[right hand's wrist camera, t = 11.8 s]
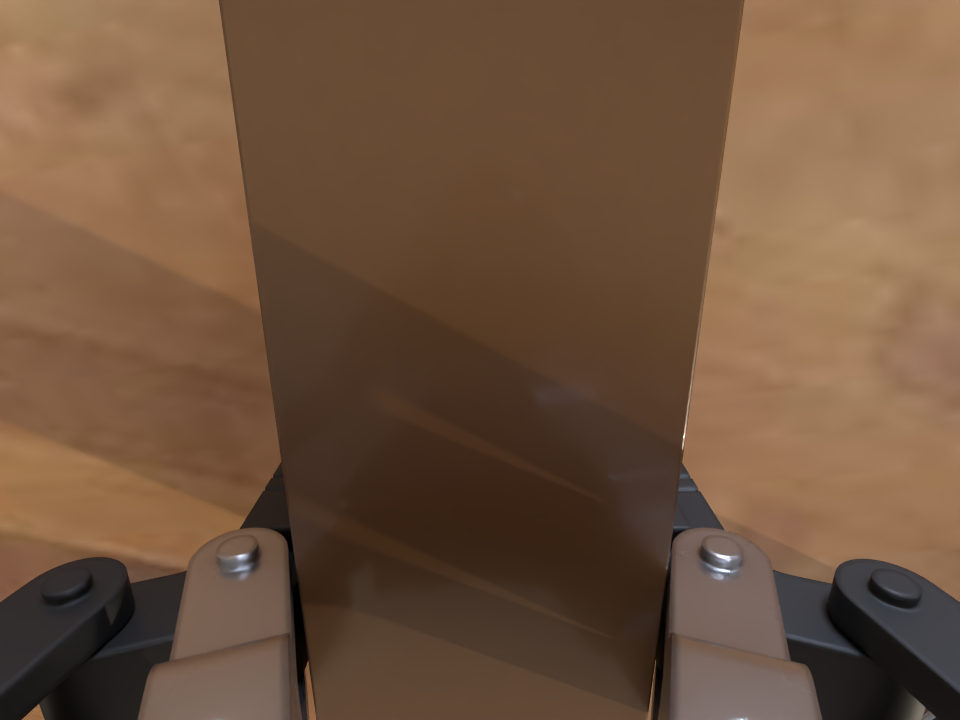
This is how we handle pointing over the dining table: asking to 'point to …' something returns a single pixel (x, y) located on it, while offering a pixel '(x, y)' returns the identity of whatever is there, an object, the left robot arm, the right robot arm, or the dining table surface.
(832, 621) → the right robot arm
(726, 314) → the dining table surface
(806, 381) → the dining table surface
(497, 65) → the beam
